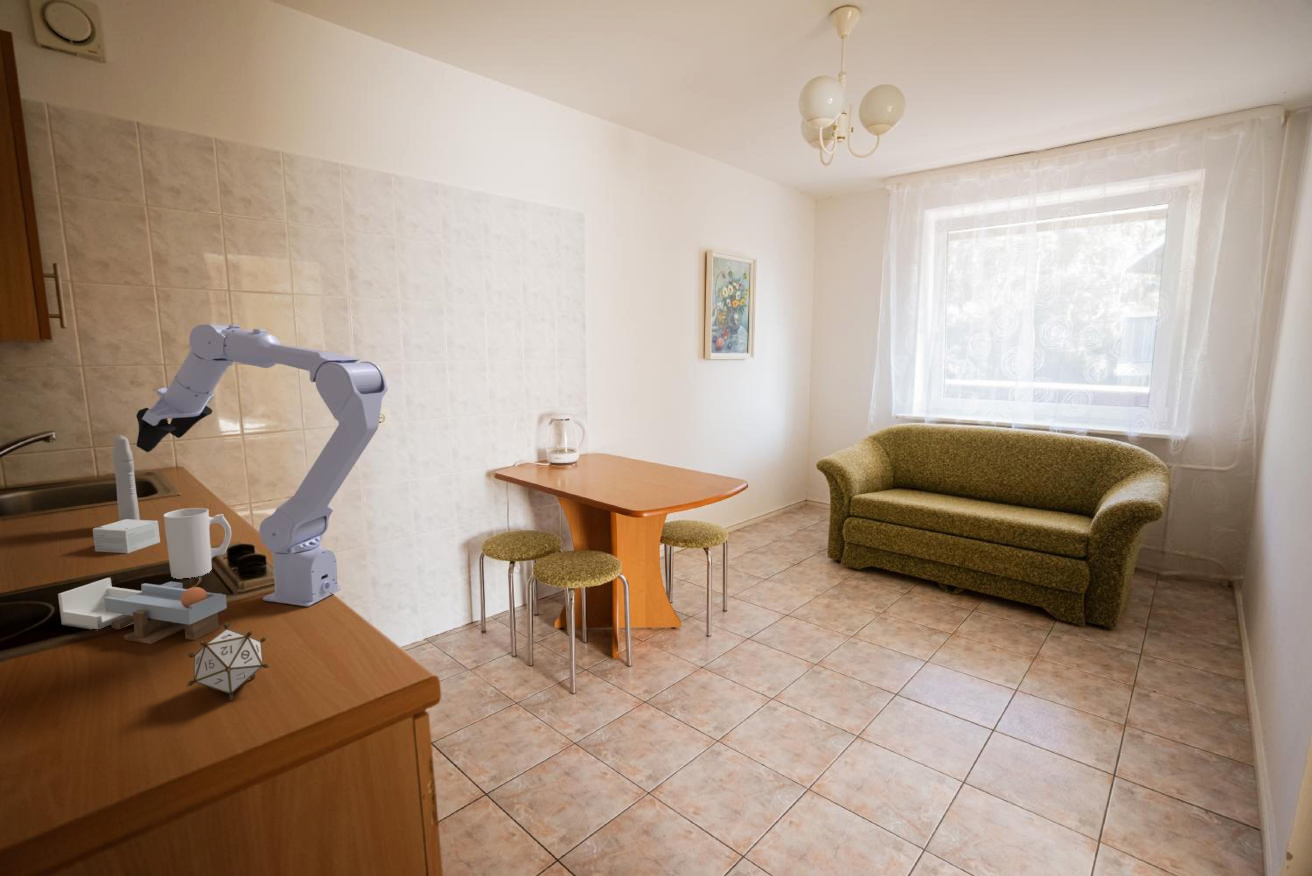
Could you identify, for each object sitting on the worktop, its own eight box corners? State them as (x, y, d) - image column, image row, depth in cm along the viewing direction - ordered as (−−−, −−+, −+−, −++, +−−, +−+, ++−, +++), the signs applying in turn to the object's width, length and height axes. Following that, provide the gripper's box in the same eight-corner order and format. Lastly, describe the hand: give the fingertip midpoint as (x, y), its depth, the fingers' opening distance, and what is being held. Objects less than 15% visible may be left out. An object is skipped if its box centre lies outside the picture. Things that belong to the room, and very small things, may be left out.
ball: (213, 605, 93) (211, 585, 93) (193, 613, 90) (191, 593, 90) (196, 602, 94) (194, 582, 94) (176, 611, 91) (174, 590, 91)
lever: (249, 598, 99) (248, 582, 98) (189, 624, 89) (188, 607, 89) (171, 587, 102) (169, 572, 102) (105, 611, 92) (103, 595, 92)
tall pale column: (148, 530, 141) (138, 436, 138) (125, 534, 138) (115, 438, 135) (135, 521, 147) (125, 432, 144) (112, 525, 144) (102, 433, 141)
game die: (225, 711, 80) (221, 635, 83) (287, 688, 80) (280, 614, 84) (168, 715, 71) (166, 631, 75) (237, 689, 72) (232, 607, 75)
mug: (168, 582, 111) (162, 519, 110) (169, 571, 117) (163, 511, 115) (235, 571, 118) (230, 511, 116) (233, 561, 123) (228, 504, 121)
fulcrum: (233, 621, 97) (231, 595, 96) (176, 648, 88) (174, 619, 87) (159, 610, 100) (156, 584, 100) (96, 635, 91) (93, 607, 91)
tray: (146, 611, 99) (142, 582, 99) (98, 630, 93) (94, 599, 92) (111, 606, 101) (107, 577, 100) (61, 624, 94) (58, 594, 94)
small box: (161, 542, 134) (159, 520, 133) (127, 554, 126) (124, 530, 125) (129, 540, 134) (127, 518, 134) (93, 552, 127) (90, 528, 126)
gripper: (200, 360, 111) (166, 416, 114) (140, 378, 97) (104, 441, 100) (236, 383, 113) (202, 438, 116) (183, 404, 99) (145, 465, 102)
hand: (159, 441), depth 108 cm, fingers open, 7 cm apart
